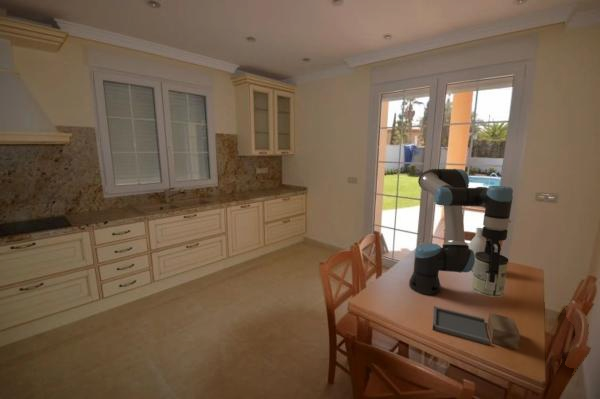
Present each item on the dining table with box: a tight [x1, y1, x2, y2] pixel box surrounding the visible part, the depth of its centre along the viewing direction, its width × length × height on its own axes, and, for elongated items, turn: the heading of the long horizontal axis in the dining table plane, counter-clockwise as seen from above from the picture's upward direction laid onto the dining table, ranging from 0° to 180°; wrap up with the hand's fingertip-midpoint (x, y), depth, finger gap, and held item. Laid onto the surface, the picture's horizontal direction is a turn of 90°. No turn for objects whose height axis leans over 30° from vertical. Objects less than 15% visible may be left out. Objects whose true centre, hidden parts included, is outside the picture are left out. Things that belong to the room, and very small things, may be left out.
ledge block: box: [486, 312, 521, 351], centre depth 104 cm, size 8×11×6 cm
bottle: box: [468, 227, 487, 272], centre depth 158 cm, size 11×11×25 cm
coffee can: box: [471, 252, 509, 298], centre depth 103 cm, size 10×10×14 cm
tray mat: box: [432, 306, 491, 346], centre depth 111 cm, size 19×15×2 cm
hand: (487, 282), depth 103 cm, fingers closed on coffee can, 10 cm apart
